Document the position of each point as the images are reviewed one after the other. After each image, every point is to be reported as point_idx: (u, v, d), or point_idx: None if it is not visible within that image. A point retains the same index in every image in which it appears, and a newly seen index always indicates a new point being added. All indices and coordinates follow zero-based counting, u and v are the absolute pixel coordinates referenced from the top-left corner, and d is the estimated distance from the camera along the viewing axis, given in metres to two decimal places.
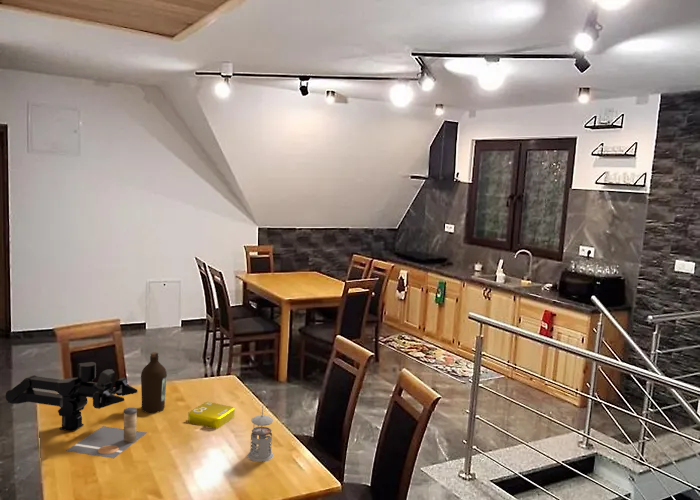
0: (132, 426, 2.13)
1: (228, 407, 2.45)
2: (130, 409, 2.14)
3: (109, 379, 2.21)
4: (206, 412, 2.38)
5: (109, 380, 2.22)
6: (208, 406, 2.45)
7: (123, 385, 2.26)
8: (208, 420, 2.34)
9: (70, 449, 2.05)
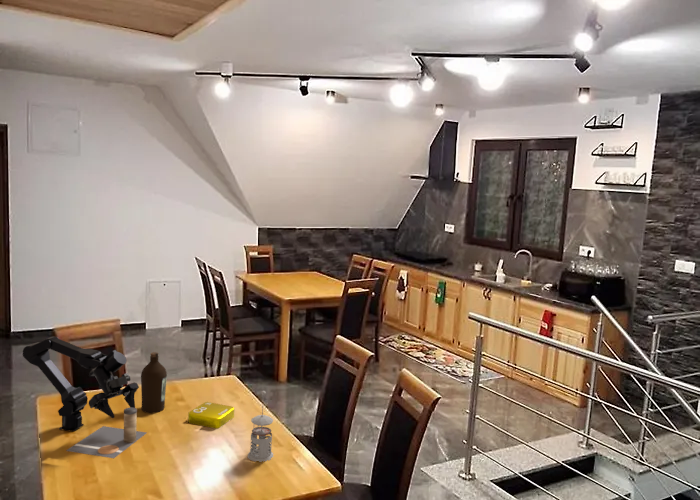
0: (132, 426, 2.13)
1: (228, 407, 2.46)
2: (130, 409, 2.14)
3: None
4: (206, 413, 2.38)
5: None
6: (207, 406, 2.45)
7: (129, 394, 2.21)
8: (208, 420, 2.34)
9: (70, 449, 2.05)
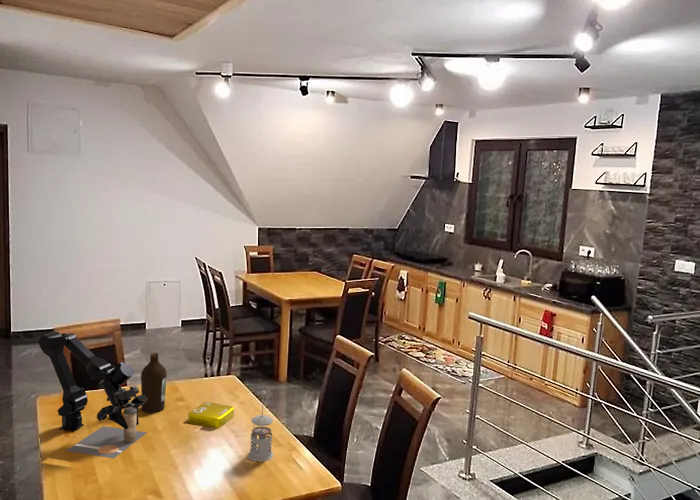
0: (132, 426, 2.13)
1: (228, 407, 2.46)
2: (130, 409, 2.14)
3: None
4: (206, 413, 2.38)
5: None
6: (207, 407, 2.45)
7: None
8: (208, 420, 2.34)
9: (70, 449, 2.05)
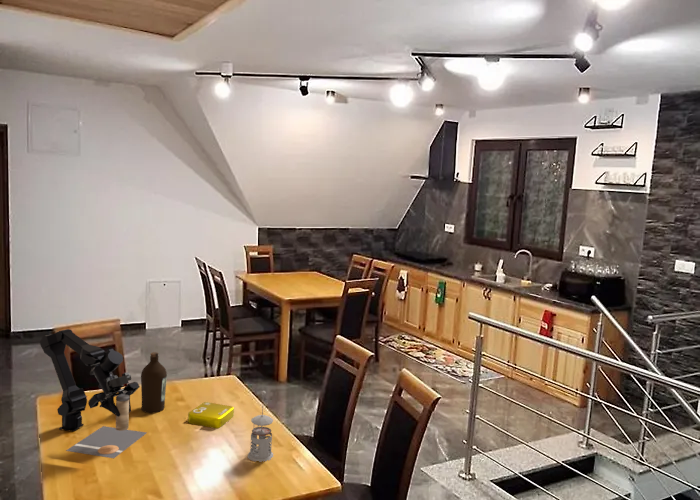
0: (125, 414, 2.09)
1: (227, 407, 2.46)
2: (122, 396, 2.10)
3: None
4: (206, 413, 2.38)
5: None
6: (207, 407, 2.45)
7: None
8: (209, 420, 2.34)
9: (70, 449, 2.05)
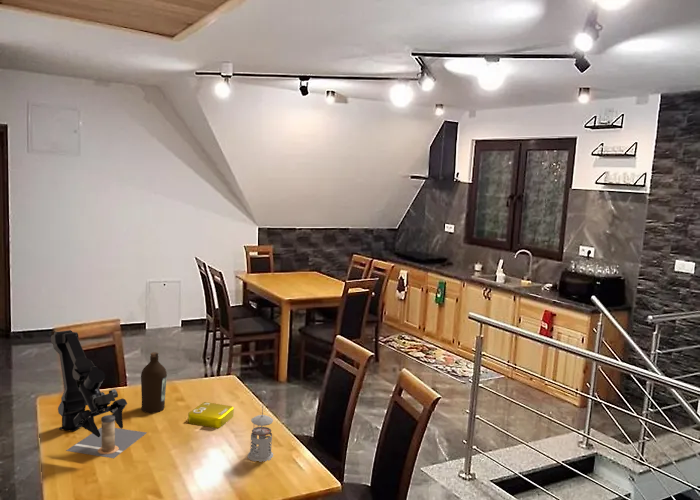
0: (110, 435, 2.05)
1: (227, 406, 2.46)
2: (108, 417, 2.06)
3: None
4: (206, 413, 2.38)
5: None
6: (206, 407, 2.45)
7: (117, 411, 2.11)
8: (209, 420, 2.34)
9: (70, 449, 2.05)
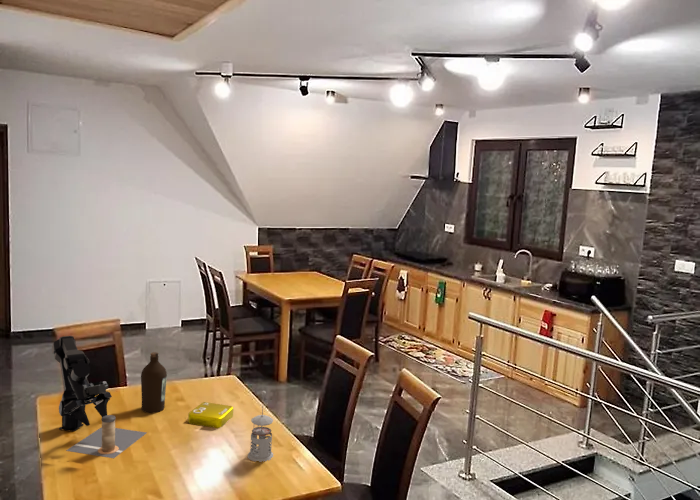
0: (110, 435, 2.05)
1: (227, 406, 2.46)
2: (108, 417, 2.06)
3: None
4: (206, 413, 2.38)
5: None
6: (206, 407, 2.44)
7: (102, 402, 2.17)
8: (209, 420, 2.34)
9: (70, 449, 2.05)
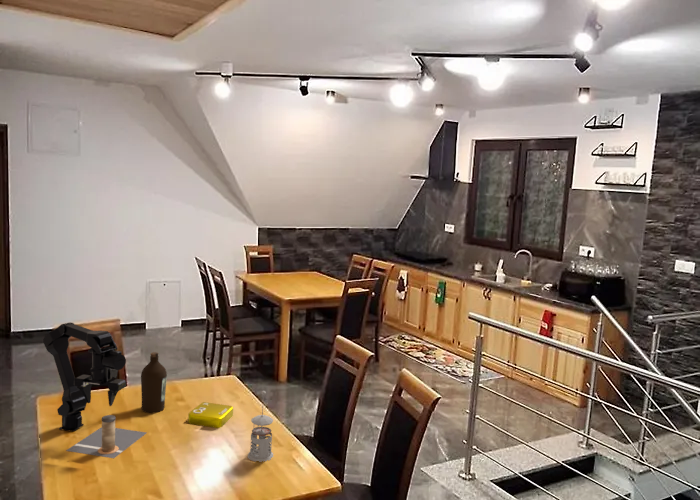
0: (111, 435, 2.05)
1: (227, 406, 2.46)
2: (108, 417, 2.06)
3: None
4: (206, 413, 2.38)
5: None
6: (206, 407, 2.44)
7: (90, 385, 2.20)
8: (210, 420, 2.34)
9: (70, 449, 2.05)
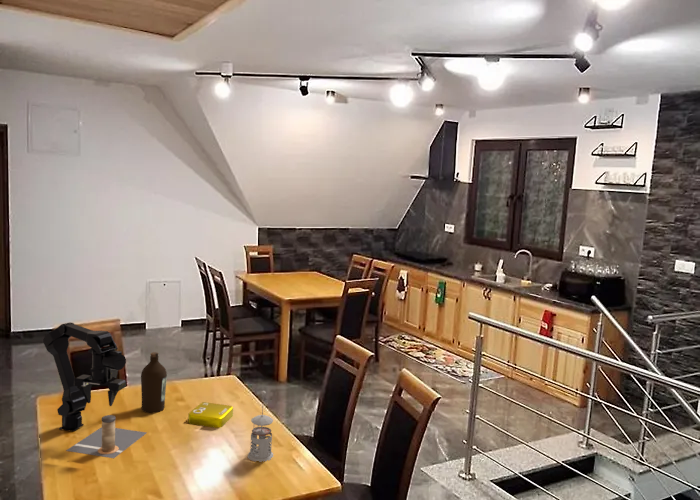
0: (110, 435, 2.05)
1: (226, 406, 2.46)
2: (108, 417, 2.06)
3: None
4: (206, 413, 2.38)
5: None
6: (206, 407, 2.44)
7: (90, 385, 2.20)
8: (210, 420, 2.34)
9: (70, 449, 2.05)
